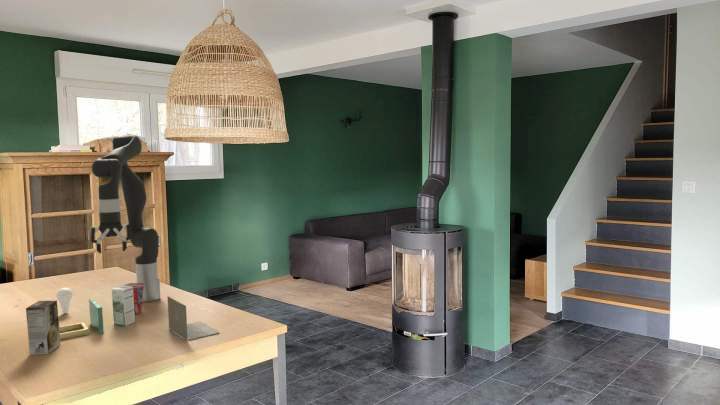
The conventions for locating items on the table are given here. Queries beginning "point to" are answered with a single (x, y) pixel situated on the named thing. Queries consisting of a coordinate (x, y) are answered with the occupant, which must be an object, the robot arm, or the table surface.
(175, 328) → the laptop
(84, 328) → the tan and teal pieces
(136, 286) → the cup
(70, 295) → the lightbulb
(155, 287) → the robot arm
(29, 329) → the coffee box
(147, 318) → the table surface
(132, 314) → the syrup box
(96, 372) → the table surface
